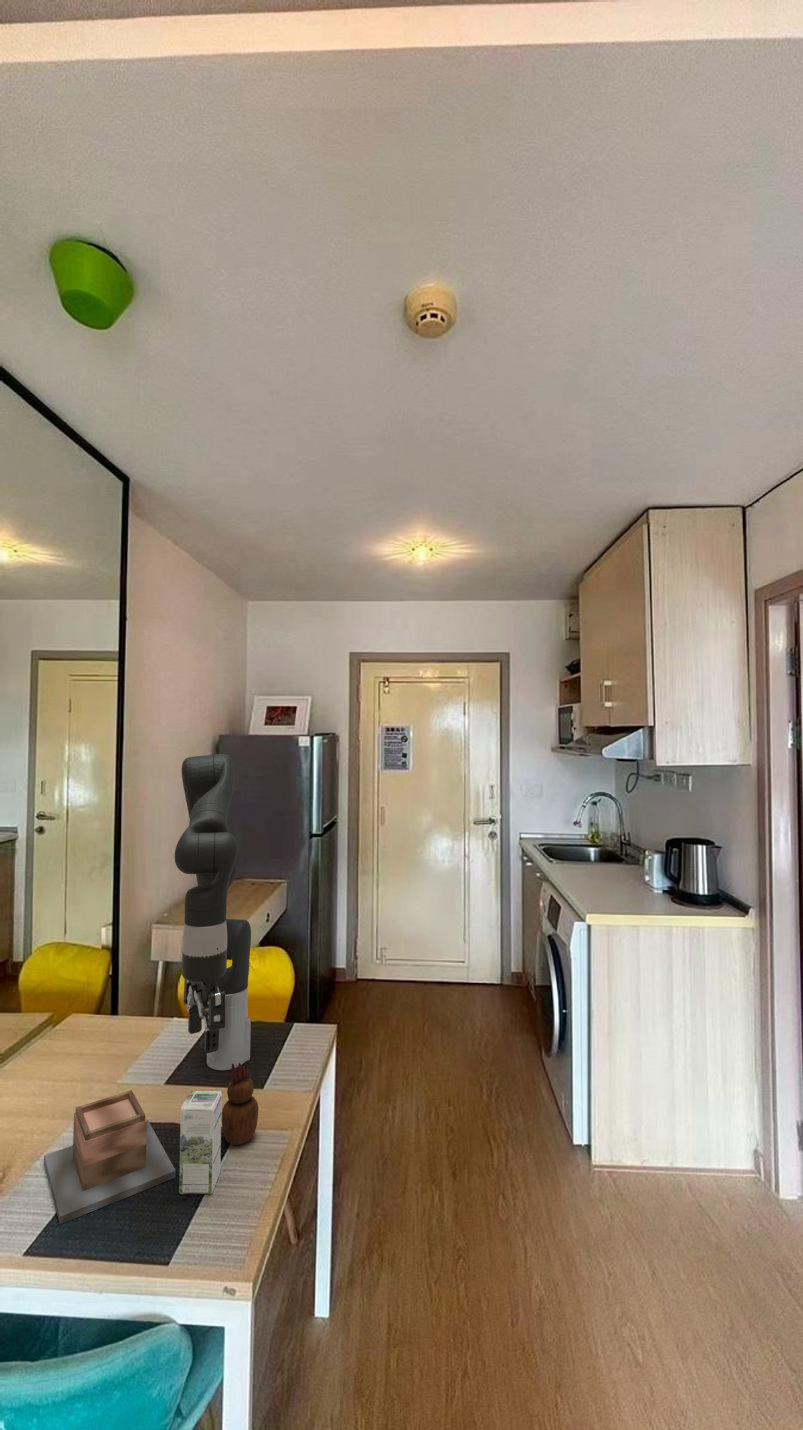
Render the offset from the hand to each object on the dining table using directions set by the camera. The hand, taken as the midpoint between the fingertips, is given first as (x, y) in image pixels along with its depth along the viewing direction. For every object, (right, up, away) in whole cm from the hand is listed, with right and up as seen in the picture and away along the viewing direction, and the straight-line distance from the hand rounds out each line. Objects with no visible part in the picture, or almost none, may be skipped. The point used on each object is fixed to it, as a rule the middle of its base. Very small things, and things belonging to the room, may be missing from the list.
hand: (202, 1041), depth 109 cm
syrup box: (0, -24, -1) cm, 24 cm away
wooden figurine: (+4, -25, +11) cm, 27 cm away
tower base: (-18, -24, +2) cm, 30 cm away
